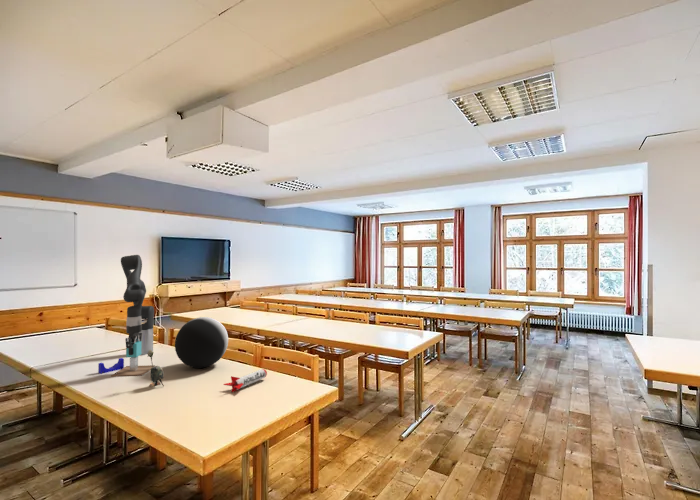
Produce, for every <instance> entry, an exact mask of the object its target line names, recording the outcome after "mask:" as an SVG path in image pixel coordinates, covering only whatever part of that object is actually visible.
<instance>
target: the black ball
mask: <svg viewBox="0 0 700 500" xmlns="http://www.w3.org/2000/svg"><path fill="white" fill-rule="evenodd" d="M228 345H229V335H228V331H227V329H226V327H225V326H224V325H223V324H222V322H220V321H219V320H217V319H215V318H212V317H209V316H200V317H196V318H192V319H190V320H189V321H187V322H186V323H184V324H183V326H181V328H180V329H179V330H178V332H177V334H176V336H175V339H174V351H175V354H176V356H177V358H178V359H179V360H180V361H181V362H182V363H183V364H184V365H186V366H188V367H191V368H196V369H201V368H202V369H203V368H207V367H210V366H212V365H214V364H216V363H217V362H219V360H221V358H223V356H224V355H225V353H226V351H227V349H228V347H229V346H228Z"/></svg>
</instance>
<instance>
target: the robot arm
mask: <svg viewBox="0 0 700 500" xmlns="http://www.w3.org/2000/svg"><path fill="white" fill-rule="evenodd" d="M120 264H121V268H122V270H123V273H124V275H125V276H124V277H125V278H126V289H125V291H124V293H123V300H124V302H126V303H133V305H131V306H130V305H129V306H128V307H127V309H126V323H125V325H126V328H125V329H126V334H128V337H125V349H126V348H129V355H133V347H134V344H135V342H139V341H142V348H141V355H140V356H146V355H148V351H149V350H152V351H153V352H154V324H155V322H154V321H155V320H154V319H155V318H154V317H155V307H154V306H153V305H143V303H144V300H145V297H146V294H147V289H146V284H145V283H144V281H143V280H142V279H141V275H142V270H143V260H142V257H141V256H140V255H139V254H133V255H125V256H122V257H121V258H120ZM143 320H146V321H145V322H144V323H143ZM131 342H133V343H131ZM128 344H129V345H128Z"/></svg>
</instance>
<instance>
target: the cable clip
mask: <svg viewBox="0 0 700 500" xmlns="http://www.w3.org/2000/svg"><path fill="white" fill-rule="evenodd" d="M124 361H125V360H124V358H123V357H120V358H118V361H117V363H114V364H113V365H112V366H110V367H108V368H107V367H106V366H105V364H104V362H99V363H98V370H97V372H98V374H101V375H102V374H105V373H106V374H107V373H110V372H114V371H116V372H117V371H119V370H121V369H123V368H124V367H125V362H124Z"/></svg>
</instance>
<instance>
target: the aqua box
mask: <svg viewBox="0 0 700 500" xmlns="http://www.w3.org/2000/svg"><path fill="white" fill-rule="evenodd" d="M131 343H133V342H131ZM128 345H129V344H128ZM141 348H142V341H139V342H135V344H134V347H133V355H129V348H126V347H125V349H126V350H125V357H126V358H131V357H138V358H139V356H142V355H141Z"/></svg>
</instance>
